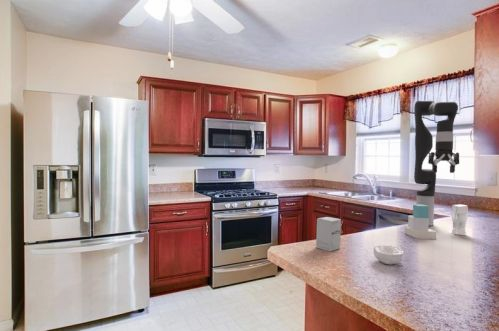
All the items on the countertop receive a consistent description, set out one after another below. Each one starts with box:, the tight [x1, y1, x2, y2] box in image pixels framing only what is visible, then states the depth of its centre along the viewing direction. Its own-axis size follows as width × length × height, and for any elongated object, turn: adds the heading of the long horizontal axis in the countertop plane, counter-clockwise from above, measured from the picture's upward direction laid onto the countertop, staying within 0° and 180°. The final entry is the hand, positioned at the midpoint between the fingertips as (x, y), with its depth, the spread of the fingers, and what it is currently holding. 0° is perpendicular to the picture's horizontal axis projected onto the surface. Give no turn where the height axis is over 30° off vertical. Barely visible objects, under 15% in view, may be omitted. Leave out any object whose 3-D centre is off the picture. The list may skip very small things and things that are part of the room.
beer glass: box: [451, 204, 469, 236], centre depth 155 cm, size 7×7×15 cm
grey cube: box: [407, 214, 430, 231], centre depth 150 cm, size 7×7×6 cm
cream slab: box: [404, 226, 437, 240], centre depth 150 cm, size 10×10×4 cm
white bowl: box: [372, 244, 404, 265], centre depth 109 cm, size 10×12×7 cm
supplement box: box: [315, 216, 342, 252], centre depth 125 cm, size 7×7×13 cm
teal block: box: [412, 203, 429, 218], centre depth 149 cm, size 5×5×6 cm
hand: (443, 172), depth 152 cm, fingers open, 8 cm apart
